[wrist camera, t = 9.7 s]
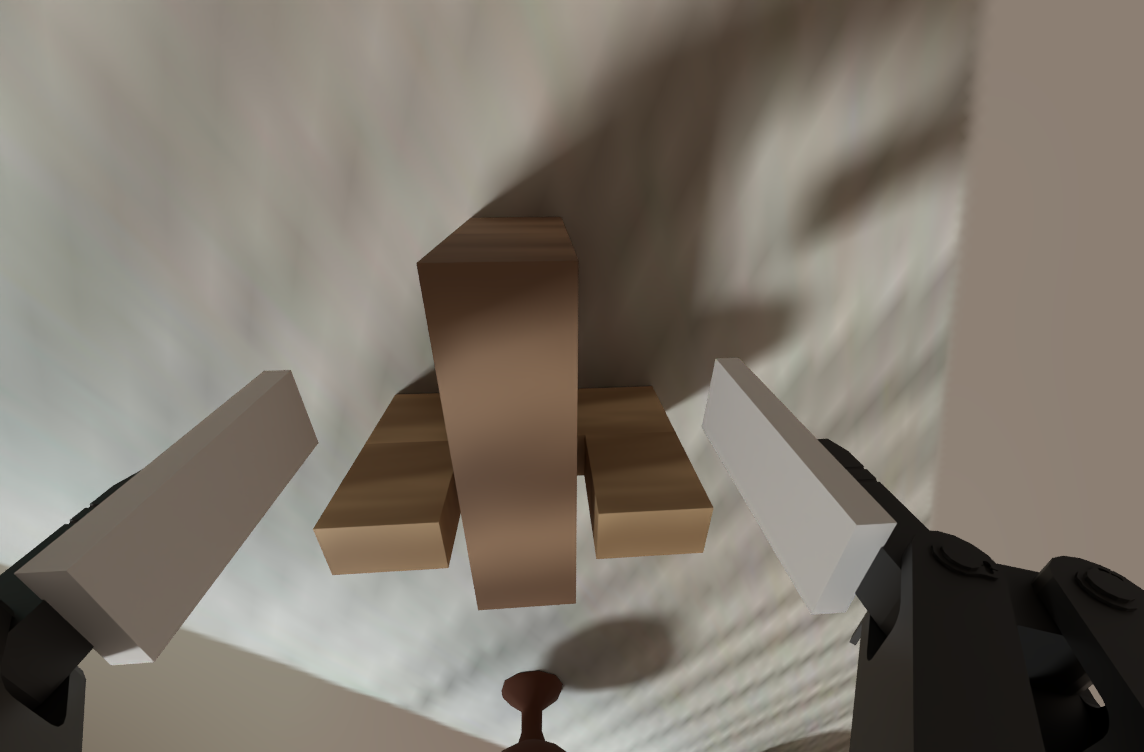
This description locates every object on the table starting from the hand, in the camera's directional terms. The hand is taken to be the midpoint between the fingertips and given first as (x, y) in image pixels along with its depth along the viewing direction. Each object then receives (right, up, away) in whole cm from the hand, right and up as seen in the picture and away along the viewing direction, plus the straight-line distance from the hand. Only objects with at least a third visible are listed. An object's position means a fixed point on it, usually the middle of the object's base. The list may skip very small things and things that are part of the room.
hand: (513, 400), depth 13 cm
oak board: (-1, -1, +10) cm, 10 cm away
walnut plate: (-1, +2, +8) cm, 8 cm away
